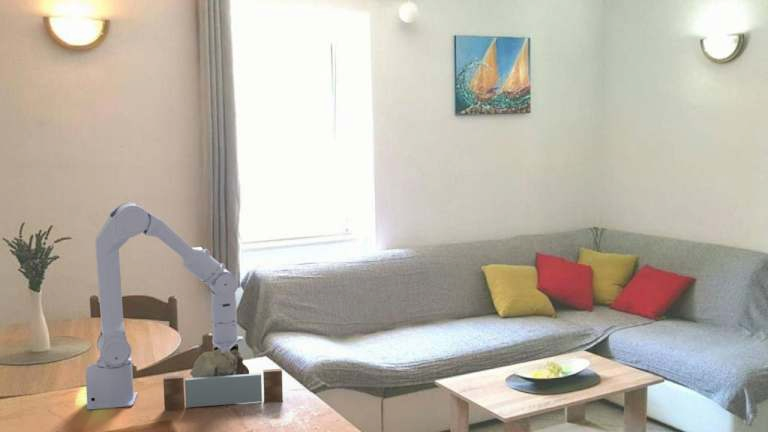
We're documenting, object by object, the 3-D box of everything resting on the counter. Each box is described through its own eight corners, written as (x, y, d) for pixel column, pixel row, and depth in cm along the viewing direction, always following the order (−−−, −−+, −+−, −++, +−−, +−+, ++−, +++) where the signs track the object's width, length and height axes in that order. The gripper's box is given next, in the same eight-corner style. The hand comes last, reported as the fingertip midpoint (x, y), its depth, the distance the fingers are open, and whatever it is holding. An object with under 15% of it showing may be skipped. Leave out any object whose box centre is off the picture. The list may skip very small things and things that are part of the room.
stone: (260, 349, 161) (246, 340, 170) (196, 353, 154) (185, 343, 163) (257, 397, 162) (243, 385, 171) (194, 403, 155) (183, 390, 164)
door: (185, 407, 154) (184, 380, 153) (186, 405, 155) (185, 378, 154) (261, 401, 157) (261, 374, 156) (261, 399, 158) (261, 373, 157)
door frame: (164, 410, 153) (163, 379, 152) (165, 408, 154) (164, 376, 154) (282, 401, 158) (281, 370, 157) (282, 399, 159) (281, 368, 158)
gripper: (242, 327, 161) (245, 385, 163) (241, 311, 175) (244, 365, 177) (210, 329, 160) (213, 388, 161) (212, 313, 174) (215, 368, 175)
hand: (227, 376), depth 169 cm, fingers closed, pressing on stone
